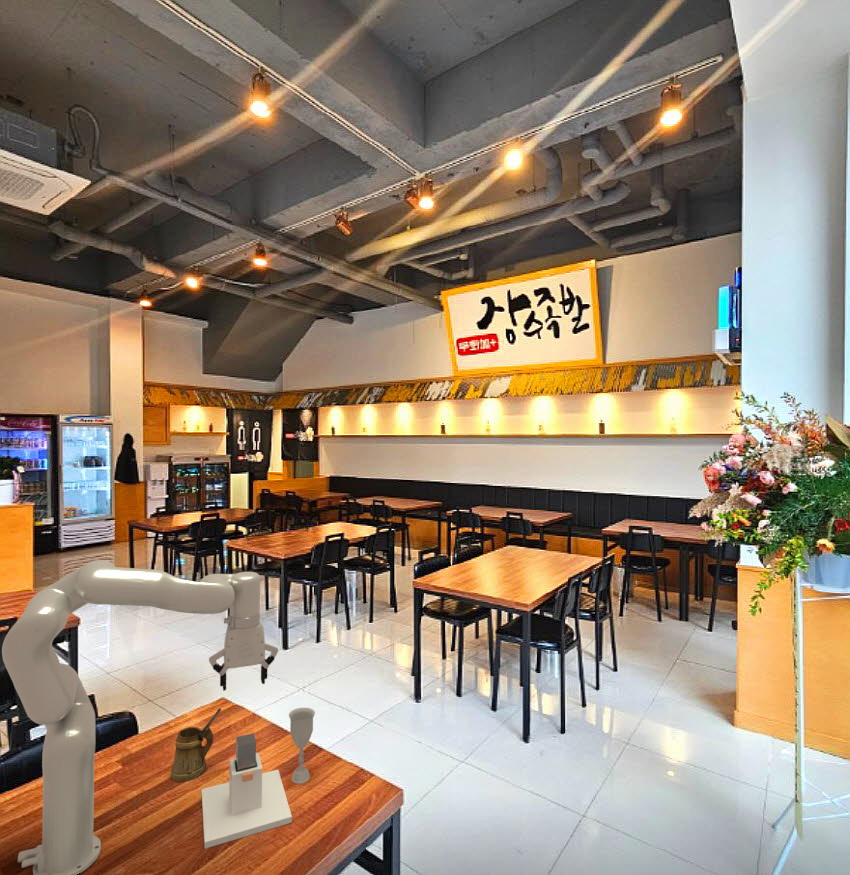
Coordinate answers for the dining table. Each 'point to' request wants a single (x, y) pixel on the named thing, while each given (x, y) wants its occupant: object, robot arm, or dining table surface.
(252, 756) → the column
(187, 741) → the wooden mug
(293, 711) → the chalice
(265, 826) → the stand
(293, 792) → the dining table surface
